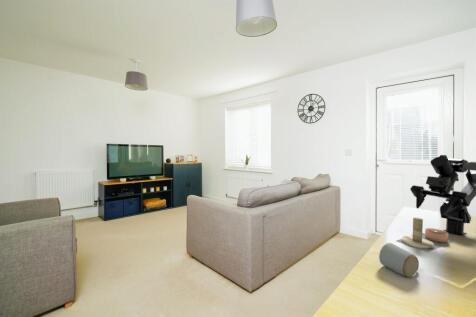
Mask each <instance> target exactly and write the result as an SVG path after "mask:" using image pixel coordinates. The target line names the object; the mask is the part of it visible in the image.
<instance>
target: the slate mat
mask: <svg viewBox="0 0 476 317" xmlns="http://www.w3.org/2000/svg"><path fill="white" fill-rule="evenodd" d="M411 236H413V234H412V235H411ZM422 238H423V239H426V240H429V239H427V238H426V237H425V232H422ZM429 241H431V240H429ZM396 242H398V243H400V244H403V245H406V246H408V245H407V244H405V243H403V242H402V238H400V239H398V240H396ZM431 242H432V243H433V244H434V248H432V249H421V248H416V247H412V246H410V247H412V248H415V249H418V250H421V251H423V252H425V253H429V252H432V251H435V250H437V249H439V248H442V247H445V246H446V245H449V244H452V243H453V241H452V240H449V239H448V242H444V243H439V242H434V241H431Z"/></svg>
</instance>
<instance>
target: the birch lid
mask: <svg viewBox="0 0 476 317" xmlns="http://www.w3.org/2000/svg"><path fill="white" fill-rule="evenodd" d="M423 222H424V219H423V218H421V217H413V218H412V235H413V236H412V235H405V236H404V235H403V236H402V237H401V239H402V242H403V243H405V244H404V245H406V244H407V245H406V246H410V247H411V246H412V248H414V247H416V248H415V249H417V248H421V249H432V248H434V244H433V243H432V242H431V241H429V240H426V239H423V238H422V233H423V225H424V224H423ZM403 243H402V244H403Z"/></svg>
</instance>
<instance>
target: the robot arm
mask: <svg viewBox="0 0 476 317" xmlns="http://www.w3.org/2000/svg"><path fill="white" fill-rule="evenodd" d="M430 165H431V167H432V168H433V170H434V172H435V173H436V175H438V176H428V175H427V178H426V180H425V181H426V182H425V185H427V186H428V189H425V188H424V186H422V185H412V186H411V187H410V188H409V189H410V192H411V193H412V195H413V197H414V198H416V201H415V203H416V204H415V208H416V209H419V208H420V207H421V206H422V204H423V203H424V201H425V200H426V199H425V198H427V196H432V197H436V198H441V199H445V201H443V202H442V204H441V205H440V207H439V213H440V218H441V219H446V225H445V229H443V231H445V232H447V233H448V234H452V235H455V236H460V237H462V236H465V235H468V233H467V232H465V224H471V221H472V216H471V215H470V212H469V211H468V208H469V206H470V205H471V204H472V201H473V200H474V199H475V197H476V172H474V171H476V161H470V162H469V160H466V159H463V158H462V159H461V158H448V156H447V154H440V155H439V156H437V157H434V158H433V159H431V160H430ZM471 171H473V172H471ZM458 173H460V174H461V173H465V177H466V180H467V184H466V185H465V186H464V187H463V188H462V190H461V191H458V190H457V191H456V190H454V185H455V183H456V182H459V180H460V178H459V174H458ZM451 191H452V193H451ZM467 207H468V208H467Z"/></svg>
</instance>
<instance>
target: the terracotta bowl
mask: <svg viewBox="0 0 476 317" xmlns="http://www.w3.org/2000/svg"><path fill="white" fill-rule="evenodd" d="M443 230H444V229H443ZM443 230H442V229H438V228H431V227H430V228H429V227H428V228H425V230H424V233H425V237H426V238H427V239H429V240H431V241H434V242H439V243H444V242H448V240H449V233H448V232H445V231H443Z"/></svg>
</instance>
